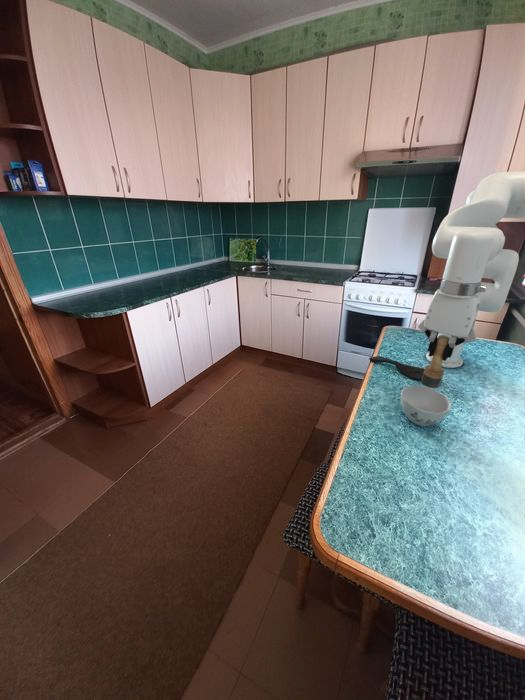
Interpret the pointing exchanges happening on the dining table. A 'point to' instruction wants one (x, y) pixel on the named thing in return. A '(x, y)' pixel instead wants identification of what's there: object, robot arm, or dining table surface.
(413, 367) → the hairbrush
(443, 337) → the dish brush
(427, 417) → the teacup
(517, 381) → the dining table surface
